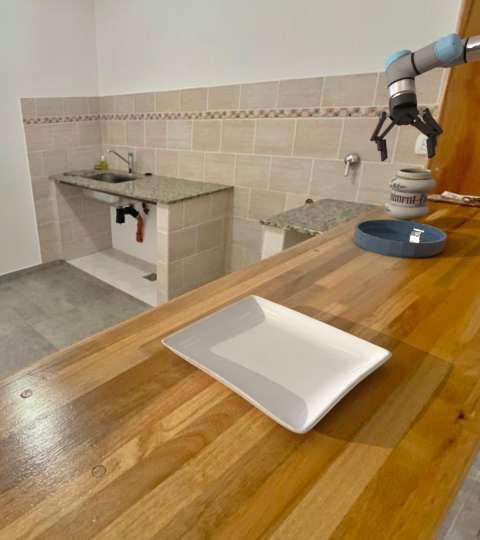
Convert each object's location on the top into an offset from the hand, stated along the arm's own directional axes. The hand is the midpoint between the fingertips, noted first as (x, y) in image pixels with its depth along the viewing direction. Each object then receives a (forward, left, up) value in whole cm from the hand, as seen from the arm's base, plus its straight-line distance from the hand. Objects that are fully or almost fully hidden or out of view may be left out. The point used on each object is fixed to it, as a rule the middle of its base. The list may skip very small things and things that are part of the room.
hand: (407, 158), depth 124 cm
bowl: (-1, +28, -20) cm, 35 cm away
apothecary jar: (-2, +8, -21) cm, 22 cm away
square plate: (+15, +100, -20) cm, 103 cm away
